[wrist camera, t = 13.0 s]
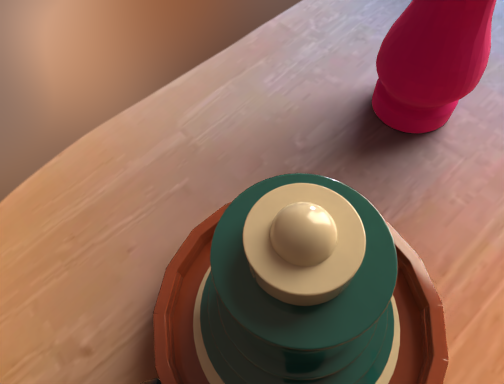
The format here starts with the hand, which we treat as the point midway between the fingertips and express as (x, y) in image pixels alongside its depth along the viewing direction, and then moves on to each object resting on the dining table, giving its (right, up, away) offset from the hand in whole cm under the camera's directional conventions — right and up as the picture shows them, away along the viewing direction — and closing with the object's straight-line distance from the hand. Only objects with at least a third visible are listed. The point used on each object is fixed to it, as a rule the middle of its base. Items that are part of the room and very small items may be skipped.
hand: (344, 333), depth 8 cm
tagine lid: (0, -4, +12) cm, 13 cm away
